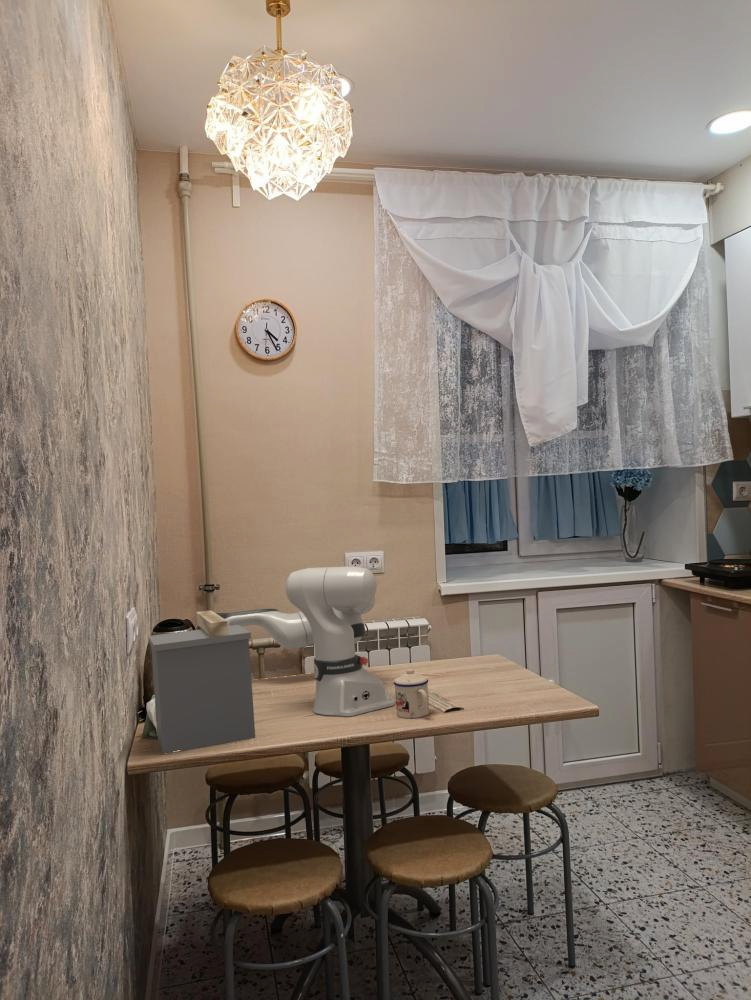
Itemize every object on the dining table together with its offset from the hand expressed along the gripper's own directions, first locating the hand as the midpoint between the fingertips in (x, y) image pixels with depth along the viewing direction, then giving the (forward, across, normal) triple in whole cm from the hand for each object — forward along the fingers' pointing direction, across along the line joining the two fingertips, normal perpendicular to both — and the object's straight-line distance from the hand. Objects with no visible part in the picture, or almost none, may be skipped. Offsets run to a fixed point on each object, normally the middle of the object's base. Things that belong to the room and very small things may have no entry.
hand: (200, 633), depth 207 cm
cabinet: (+8, +4, -31) cm, 32 cm away
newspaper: (+12, -59, -34) cm, 69 cm away
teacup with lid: (+20, -48, -38) cm, 64 cm away
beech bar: (+18, 0, -6) cm, 19 cm away
